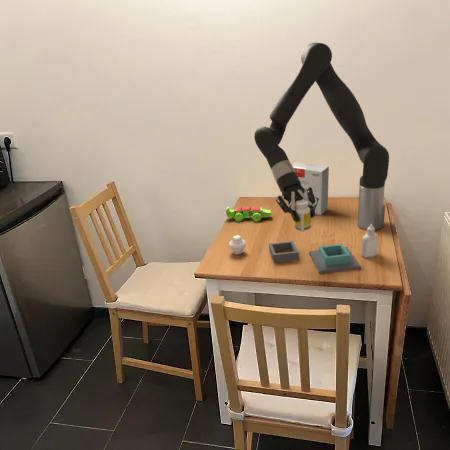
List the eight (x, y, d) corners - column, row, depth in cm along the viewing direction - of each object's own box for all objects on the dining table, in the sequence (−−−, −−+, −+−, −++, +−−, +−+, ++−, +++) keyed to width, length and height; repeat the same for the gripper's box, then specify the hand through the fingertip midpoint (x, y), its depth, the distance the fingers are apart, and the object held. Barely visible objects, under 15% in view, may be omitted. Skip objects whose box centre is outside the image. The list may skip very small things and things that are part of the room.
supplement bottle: (311, 225, 156) (310, 199, 152) (310, 232, 152) (309, 205, 147) (295, 224, 158) (294, 199, 154) (294, 231, 153) (293, 205, 149)
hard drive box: (288, 209, 198) (287, 166, 190) (296, 203, 204) (295, 161, 196) (321, 215, 190) (321, 171, 182) (328, 209, 196) (329, 165, 187)
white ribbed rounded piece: (245, 256, 163) (243, 239, 160) (228, 256, 164) (227, 239, 161) (247, 248, 169) (246, 231, 166) (231, 248, 170) (229, 231, 167)
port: (346, 249, 162) (347, 239, 160) (360, 268, 149) (361, 258, 147) (308, 253, 161) (308, 243, 160) (319, 273, 148) (319, 263, 147)
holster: (293, 248, 166) (292, 240, 165) (298, 259, 158) (298, 252, 157) (269, 250, 166) (268, 243, 164) (273, 262, 157) (273, 255, 156)
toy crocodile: (272, 215, 195) (271, 202, 192) (271, 222, 189) (270, 208, 186) (227, 216, 198) (226, 203, 195) (225, 222, 192) (224, 209, 189)
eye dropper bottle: (378, 258, 154) (381, 227, 149) (362, 258, 155) (363, 227, 150) (376, 252, 158) (378, 221, 153) (360, 252, 159) (361, 222, 154)
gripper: (271, 176, 151) (291, 220, 146) (307, 166, 155) (328, 209, 150) (264, 186, 157) (283, 229, 152) (299, 177, 162) (318, 218, 157)
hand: (305, 219), depth 151 cm, fingers closed on supplement bottle, 5 cm apart
